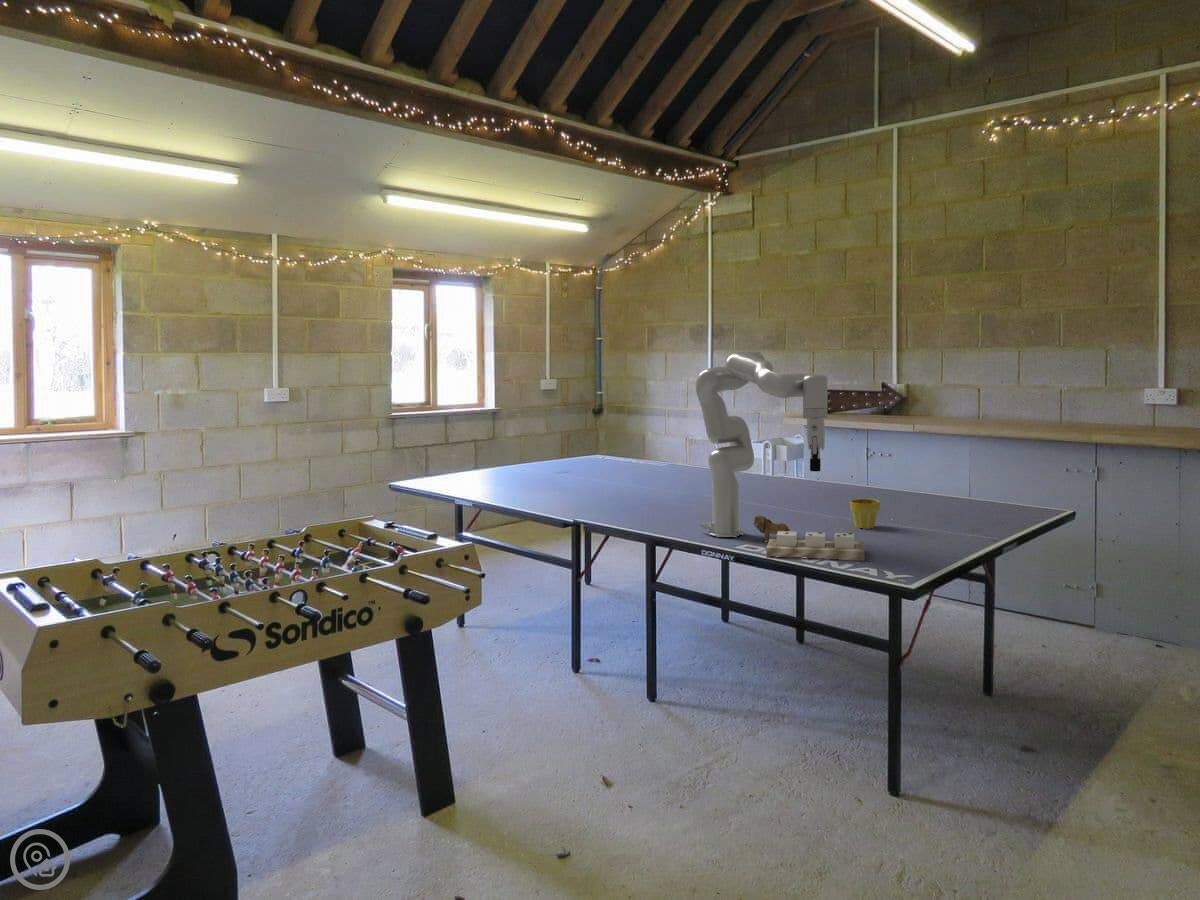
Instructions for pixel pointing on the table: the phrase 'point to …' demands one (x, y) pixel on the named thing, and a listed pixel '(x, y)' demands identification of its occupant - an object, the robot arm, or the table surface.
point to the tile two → (815, 539)
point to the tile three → (844, 540)
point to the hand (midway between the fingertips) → (815, 470)
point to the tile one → (786, 538)
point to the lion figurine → (768, 526)
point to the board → (816, 551)
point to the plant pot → (864, 512)
